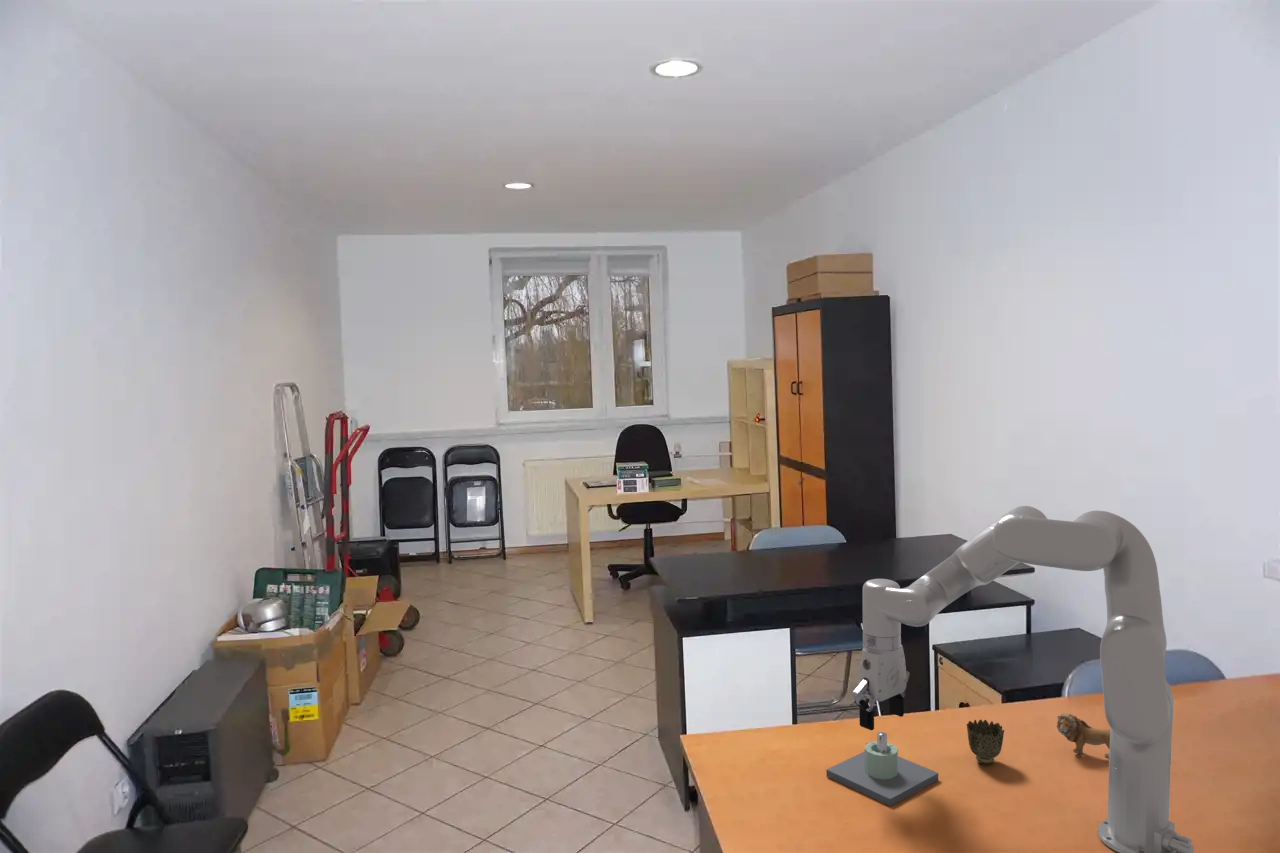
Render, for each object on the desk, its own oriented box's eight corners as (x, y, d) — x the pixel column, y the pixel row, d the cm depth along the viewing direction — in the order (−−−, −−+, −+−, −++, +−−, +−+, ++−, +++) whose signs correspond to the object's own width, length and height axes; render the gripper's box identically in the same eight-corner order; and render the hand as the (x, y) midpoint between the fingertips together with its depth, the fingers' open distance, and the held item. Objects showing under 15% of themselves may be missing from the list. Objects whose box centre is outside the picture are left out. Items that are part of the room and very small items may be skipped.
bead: (903, 772, 186) (903, 749, 185) (884, 782, 182) (884, 758, 181) (878, 761, 191) (878, 738, 190) (858, 770, 187) (858, 747, 186)
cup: (1006, 771, 188) (1007, 735, 187) (969, 769, 189) (970, 732, 188) (1000, 755, 195) (1000, 719, 194) (964, 753, 196) (964, 718, 196)
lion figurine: (1056, 757, 193) (1057, 717, 192) (1055, 747, 198) (1056, 707, 197) (1134, 768, 188) (1135, 727, 187) (1131, 757, 192) (1132, 717, 192)
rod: (889, 771, 186) (888, 734, 185) (882, 774, 185) (882, 737, 184) (881, 767, 188) (880, 731, 187) (875, 771, 187) (874, 733, 186)
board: (938, 779, 185) (938, 773, 185) (890, 806, 175) (890, 799, 175) (874, 753, 198) (874, 746, 198) (826, 776, 188) (826, 769, 188)
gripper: (869, 655, 175) (870, 739, 177) (922, 635, 186) (922, 715, 188) (839, 645, 181) (840, 727, 183) (892, 626, 192) (892, 704, 194)
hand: (881, 721), depth 185 cm, fingers open, 9 cm apart
